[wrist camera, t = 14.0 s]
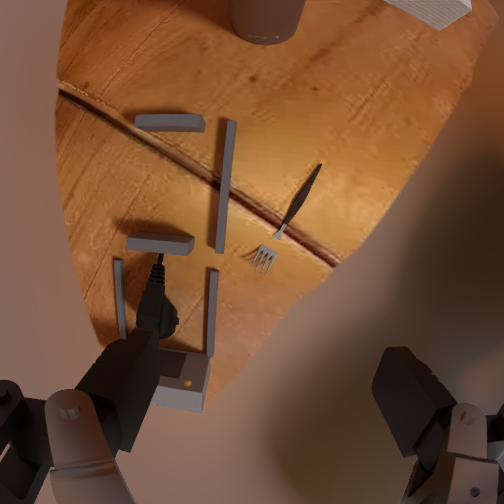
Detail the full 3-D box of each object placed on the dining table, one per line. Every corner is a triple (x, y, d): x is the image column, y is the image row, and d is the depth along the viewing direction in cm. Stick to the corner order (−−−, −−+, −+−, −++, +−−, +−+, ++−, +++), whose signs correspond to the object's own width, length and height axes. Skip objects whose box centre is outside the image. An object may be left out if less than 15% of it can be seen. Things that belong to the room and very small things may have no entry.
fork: (328, 169, 35) (333, 169, 33) (265, 272, 38) (266, 277, 36) (312, 158, 34) (315, 157, 32) (249, 262, 38) (249, 267, 36)
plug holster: (147, 121, 33) (135, 114, 29) (236, 123, 33) (234, 116, 29) (138, 242, 37) (126, 249, 33) (224, 251, 37) (220, 259, 33)
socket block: (116, 258, 37) (84, 279, 28) (218, 270, 38) (209, 296, 29) (125, 359, 41) (104, 392, 33) (212, 374, 42) (205, 413, 33)
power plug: (181, 246, 36) (168, 339, 32) (190, 265, 43) (180, 343, 39) (141, 242, 36) (125, 332, 31) (155, 261, 43) (144, 337, 38)
